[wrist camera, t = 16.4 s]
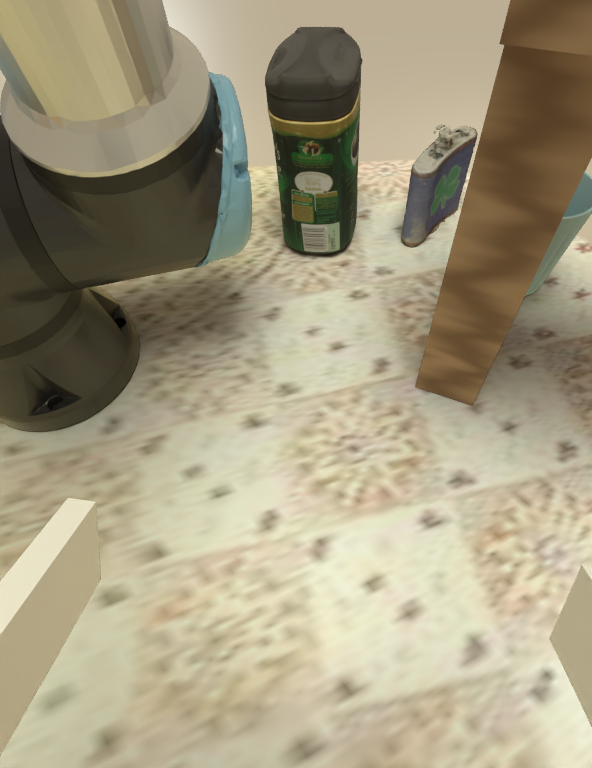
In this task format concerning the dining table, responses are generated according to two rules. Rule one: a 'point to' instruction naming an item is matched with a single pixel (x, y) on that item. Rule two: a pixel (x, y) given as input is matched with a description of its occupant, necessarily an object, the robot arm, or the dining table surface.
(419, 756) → the dining table surface
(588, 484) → the dining table surface
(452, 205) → the flask
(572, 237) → the cup
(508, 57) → the shelf
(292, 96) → the coffee jar
